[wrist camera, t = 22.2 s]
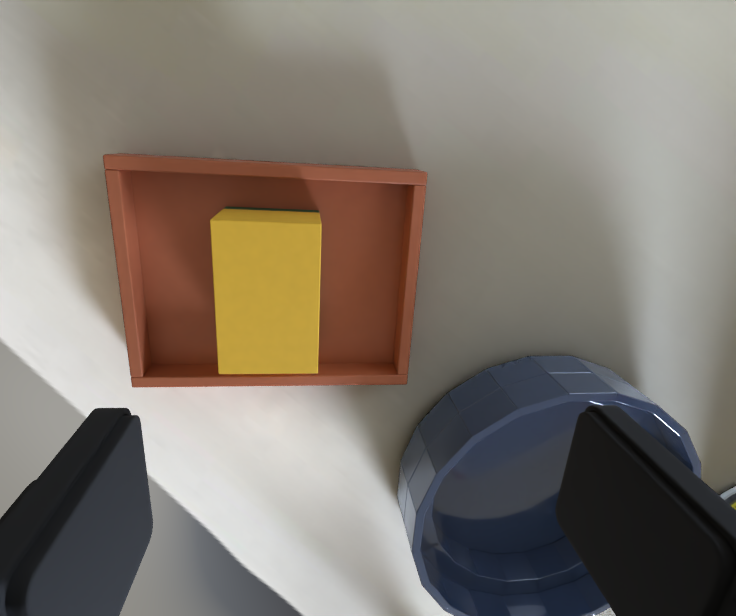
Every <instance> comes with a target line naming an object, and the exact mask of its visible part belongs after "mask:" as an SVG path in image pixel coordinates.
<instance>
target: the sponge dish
mask: <svg viewBox="0 0 736 616" xmlns="http://www.w3.org/2000/svg"><path fill="white" fill-rule="evenodd" d="M103 161H104V168H105V169H106V170H105V176H106V184H107V192H108V200H109V208H110V216H111V224H112V232H113V240H114V248H115V255H116V263H117V271H118V279H119V287H120V295H121V303H122V311H123V319H124V327H125V335H126V342H127V350H128V358H129V366H130V374H131V382H132V387H212V386H305V385H398V384H407V378H408V375H407V374H408V367H409V357H410V347H411V336H412V326H413V316H414V306H415V295H416V285H417V275H418V265H419V254H420V244H421V234H422V224H423V213H424V203H425V193H426V186H425V185H426V182H427V172H424V171H420V170H415V169H396V168H378V167H360V166H342V165H324V164H305V163H287V162H269V161H251V160H233V159H214V158H196V157H178V156H160V155H142V154H123V153H119V154H106V155H103ZM226 206H229V207H253V208H277V209H302V210H319V214H320V219H321V224H322V231H321V271H320V311H319V352H318V373H297V374H219V373H218V357H217V339H216V321H215V303H214V284H213V266H212V248H211V230H210V220H211V219H212V218H213V217H214V216H215V215H216V214H218V213H219V212H220V211H221V210H222V209H224V208H225V207H226Z"/></svg>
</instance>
